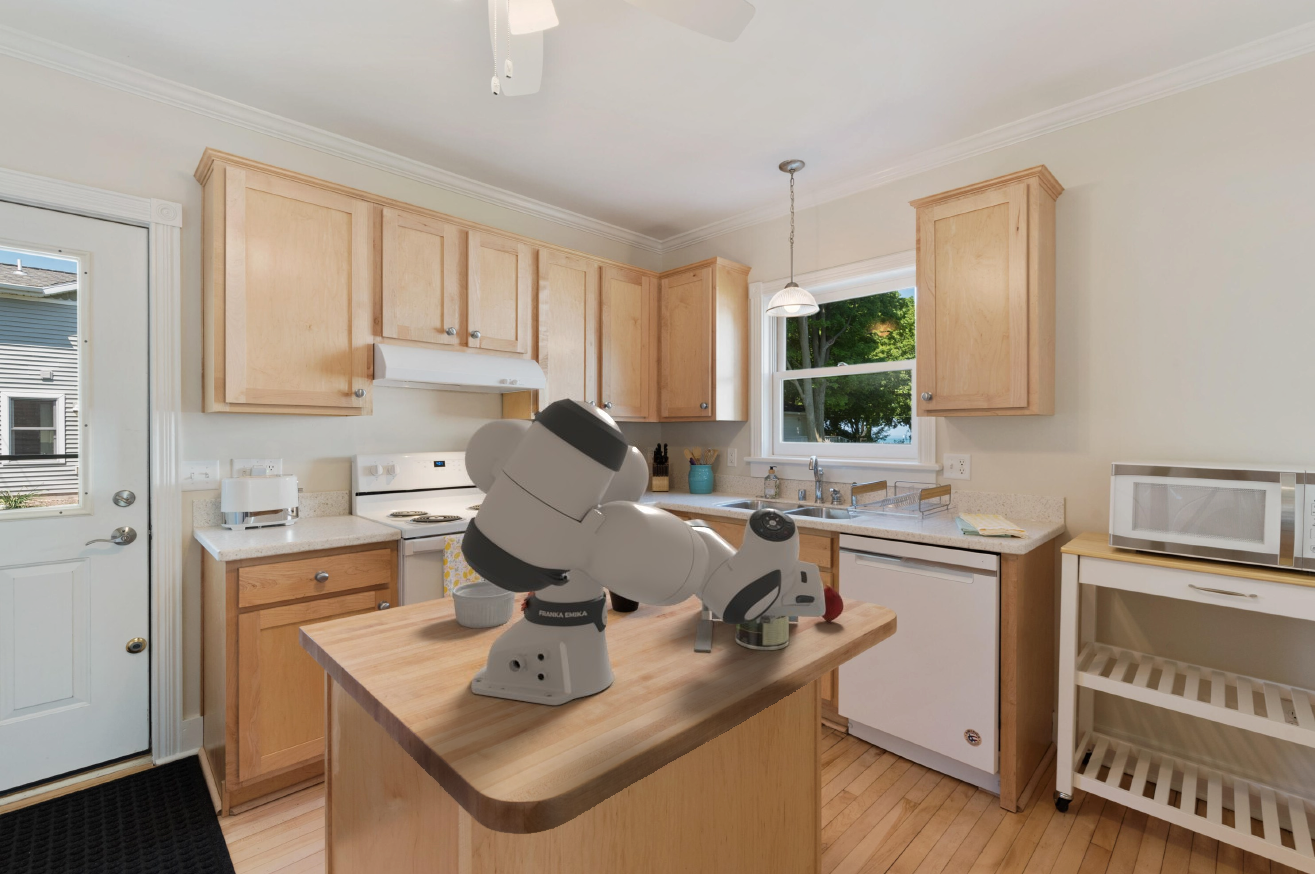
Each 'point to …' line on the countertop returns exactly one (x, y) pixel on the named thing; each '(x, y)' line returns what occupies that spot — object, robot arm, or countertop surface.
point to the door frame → (704, 631)
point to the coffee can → (764, 634)
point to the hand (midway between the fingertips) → (764, 619)
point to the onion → (832, 604)
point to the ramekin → (482, 604)
